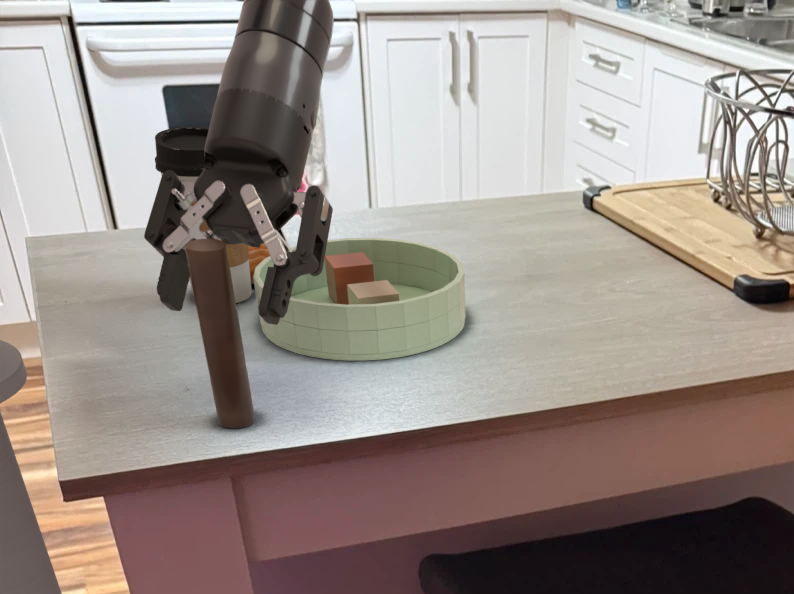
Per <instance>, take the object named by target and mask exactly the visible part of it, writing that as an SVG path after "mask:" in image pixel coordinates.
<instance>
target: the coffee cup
mask: <svg viewBox="0 0 794 594" xmlns="http://www.w3.org/2000/svg"><path fill="white" fill-rule="evenodd" d="M208 131H209V127H206V126H177V127H171V128H167V129H164V130H160V131H159V132H157V134H155V136H154V141H155V154H156V156H155V158H154V164H155V165H154V166H155V169H156V171H157V172H159V173H160V174H161V176H162V175H163V173H164V172H165V171H167V170H172V171H173V172H174V173H175V174H176V175H177V176H178V177H179V178H180V179H186V180H191V181H196V180H197V179H198V177H199V176H200V175H201V173H202V172H203V170H204V165H205V155H204V149H205V143H206V139H207V135H208ZM196 203H197V199H196V200H194V201H193V202H192V204H191V206H194V205H195V204H196ZM186 212H187V211H186ZM200 230H201V231H202V232H206V231H208V230H209V227H208V226H207V224H206V221H205V220H204V221H203V222H202V223H201V225H200ZM191 240H192V239H191ZM191 240H190V241H191ZM190 241H189V242H190ZM184 247H185V246H184ZM184 247H183V248H184ZM226 248H227V254H228V260H229V266H230V272H231V278H232V284H233V290H234V295H235V301H236V304H238V303H241V302H244V301H246V300H248V299H250V297H251V296H252V294H253V293H252V284H251V279H250V268H249V249H248V245H246V244H244V243H240V244H234V245H233V244H226ZM189 284H190V287H191V292H192V296H193V297H194V293H193V288H192V283H191V278H189Z"/></svg>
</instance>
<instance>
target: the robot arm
mask: <svg viewBox="0 0 794 594" xmlns="http://www.w3.org/2000/svg"><path fill="white" fill-rule="evenodd" d="M334 19H335V18H334V11H333V8H332V5H331V2H330V0H243V2H242V6H241V10H240V14H239V18H238V22H237V26H236V31H235V34H234V40H233V43H232V45H231V49H230V51H229V54H228V56H227V58H226V61H225V63H224V65H223V66H224V67H223V70H222V73H221V78H220V80H219V81H220V82H219V86H218V90H217V95H216V99H215V103H214V105H213V110H212V114H211V118H210V123H209V127H208V128H209V131H208V135H207V139H206V143H205V149H204V155H205V165H204V170H203V172H202V173H201V175H200V176H199V177H198V179H197V180H196V181H191V180H186V179H180V178H179V177H178V176H177V175H176V174H175V173H174V172H173V171H172V170H167V171H165V172H164V173H163V175H161V177H160V181H159V184H158V187H157V191H156V194H155V196H154V201H153V203H152V207H151V210H150V213H149V218H148V221H147V224H146V227H145V231H144V235H143V236H144V239H145V241H146V242H147V243H149V245H150V246H152V248H153V249H154V250H156V251H157V252H158V253H159V254H160V255H161V256H162V257H163V259H162V264H161V268H160V270H159V271H160V272H159V276H158V280H157V285H156V294H157V295H158V296H159V300H160V302H161V303H162V304H163V305H164V306H165V307H166V308H167V309H169V311H173V312H181V311H182V310H183V308H184V303H185V299H186V295H187V290H188V286H189V283H190V281H189V278H190V272H189V267H188V262H187V257H186V252H185V247H184V246H185V244H186V243H188V242H189V241H190V240H191V239H192V240H191V241H193V240H198V239H218V240H221V241H224V242H225V244H233V245H234V244H240V243H244V244H246V245H248V246H251V247H258V248H260V245H261V244H264V243H265V245H266V248H267V250H268V252H269V254H270V257H271V259H272V261H273V263H274V266H273V267H268V269H267V274H266V278H265V282H264V286H263V290H262V295H261V299H260V303H259V308H258V307H257V308H258V309H257V310H258V311H257V312H258V316H259V315H260V316H261V317H262V318H263V319H264V320H265V321H266V322H267V323H268V324H274V325H277V324H278V323H279V320H280V318H284V316H285V315H286V313H287V310H288V305H289V300H290V297H291V293H292V289H293V284H294V281H295V280H297V279H298V278H299V276H302V275H306V274H310V275H311V276H318V275H319V274H320V273H321V272H322V269H323V264H324V258H325V252H326V246H327V241H328V240H329V234H330V229H331V222H332V217H333V211H334V209H333V206H332V205H331V203H330V201H329V200H328V199H327V196H326V195H325V194H324V192H323V191H322V189H321V188H320V186H318V185H311V186H308V188H307V189H306V191H299V190H300V188H301V185H302V181H303V177H304V173H305V169H306V165H307V160H308V156H309V151H310V149H311V143H312V139H313V135H314V131H315V128H316V126H317V119H318V113H319V109H320V100H321V89H322V83H323V78H324V74H325V68H326V65H327V61H328V56H329V52H330V48H331V44H332V39H333V34H334V33H333V32H334V24H335V21H334ZM196 199H197V203H196V204H195V205H194V206H191V204H192V202H193V201H194V200H196ZM186 211H187V212H186ZM297 213H298V216H299V217H300V218H301V219H300V225H299V231H298V236H297V242H296V246H297V247H296V251H293V252H292V250H291V248H292V247H291V246H290V244H289V242H288V240H287V239H288V238H287V237H286V235H285V233H284V231H283V228H284V226H285V225H286V224H287V223H288V222H290V220H291V219H292V218H293V217H294V216H295V215H296V214H297ZM204 220H205V221H206V224H207V226H208V227H209V230H208V231H206V232H202V231H201V230H200V225H201V223H202V222H203V221H204ZM183 247H184V248H183Z"/></svg>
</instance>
